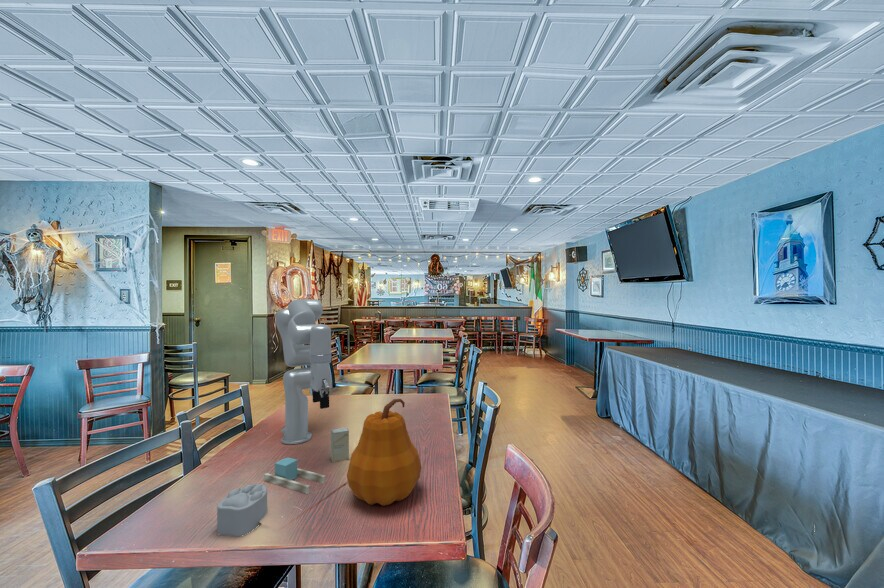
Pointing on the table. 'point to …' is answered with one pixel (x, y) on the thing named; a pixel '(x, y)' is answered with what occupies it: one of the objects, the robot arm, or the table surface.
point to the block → (286, 468)
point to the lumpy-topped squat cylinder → (242, 510)
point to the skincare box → (339, 444)
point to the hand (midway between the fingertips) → (320, 404)
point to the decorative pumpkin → (384, 459)
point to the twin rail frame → (293, 484)
